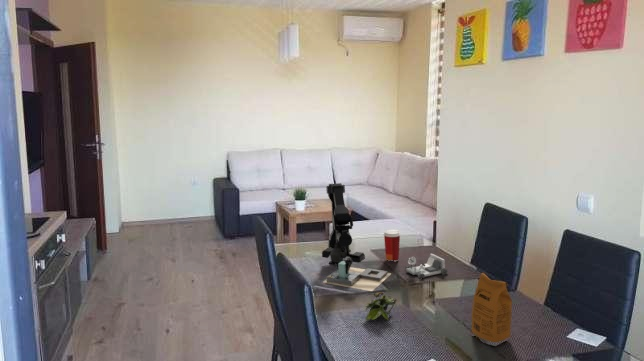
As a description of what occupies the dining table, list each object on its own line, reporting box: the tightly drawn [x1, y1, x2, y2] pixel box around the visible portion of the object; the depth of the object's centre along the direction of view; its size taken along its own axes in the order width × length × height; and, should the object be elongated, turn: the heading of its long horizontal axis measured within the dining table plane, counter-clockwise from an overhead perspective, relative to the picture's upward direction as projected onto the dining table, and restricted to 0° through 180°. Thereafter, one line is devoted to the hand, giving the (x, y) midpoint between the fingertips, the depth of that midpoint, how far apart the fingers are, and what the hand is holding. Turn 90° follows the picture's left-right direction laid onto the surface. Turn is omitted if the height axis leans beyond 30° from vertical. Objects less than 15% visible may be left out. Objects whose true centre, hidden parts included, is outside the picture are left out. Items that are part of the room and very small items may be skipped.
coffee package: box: [471, 272, 513, 342], centre depth 173 cm, size 10×12×22 cm
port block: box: [326, 269, 361, 286], centre depth 229 cm, size 10×12×2 cm
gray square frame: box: [361, 267, 389, 281], centre depth 233 cm, size 9×10×1 cm
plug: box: [337, 261, 349, 278], centre depth 229 cm, size 4×3×7 cm
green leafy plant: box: [364, 292, 397, 323], centre depth 193 cm, size 11×11×12 cm
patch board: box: [322, 266, 392, 292], centre depth 231 cm, size 22×24×1 cm
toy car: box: [404, 253, 448, 279], centre depth 235 cm, size 18×10×12 cm
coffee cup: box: [382, 229, 401, 261], centre depth 252 cm, size 8×8×15 cm
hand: (343, 273), depth 229 cm, fingers closed on plug, 3 cm apart
